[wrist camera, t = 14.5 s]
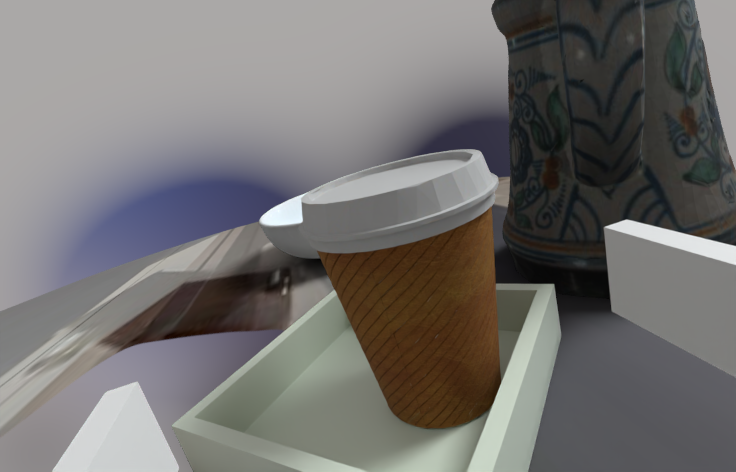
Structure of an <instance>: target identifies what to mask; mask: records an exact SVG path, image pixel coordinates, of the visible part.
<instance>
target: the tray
mask: <svg viewBox="0 0 736 472" xmlns="http://www.w3.org/2000/svg"><path fill="white" fill-rule="evenodd" d="M496 300H497V315H498V337H499V357H500V373H501V385H500V388H499V390H498V393H497V395H496V398H495V401H494V403H493V405H492V406H491V407H490V408H489V409H488V410H487V411H486V412H484V413H483V414H482V415H480V416H478V417H477V418H475V419H473V420H471V421H469V422H467V423H464V424H460V425H457V426H454V427H448V428H428V429H427V428H422V427H416V426H413V425H410V424H407V423H405V422H403V421H402V420H400V419H399V418H398V417H396V416H395V415H394V414H393V413H392V411H391V410H390V408H389V407H388V404H387V402H386V399H385V397H384V395H383V393H382V391H381V389H380V387H379V384H378V382H377V380H376V378H375V376H374V373H373V371H372V369H371V367H370V364H369V363H368V361H367V359H366V357H365V354H364V352H363V350H362V348H361V345H360V343H359V341H358V339H357V337H356V334H355V332H354V330H353V328H352V326H351V324H350V322H349V320H348V318H347V315H346V313H345V311H344V309H343V306H342V304H341V302H340V300H339V298H338V296H337V293H336V291H335V289H334V290H333V291H332V292H331V293H330V294H328V295H327V296H326V297H325V298H324V299H322V300H321V301H320V302H319V303H318V304H316V305H315V306H314V307H313V308H312V309H310V310H309V311H308V312H307V313H306V314H305V315H303V316H302V317H301V318H300V319H299V320H297V321H296V322H295V323H294V324H293V325H291V326H290V327H289V328H288V329H287V330H285V331H284V332H283V333H282V334H281V335H279V336H278V337H277V338H276V339H275V340H274V341H272V342H271V343H270V344H269V345H267V346H266V347H265V348H264V349H263V350H261V351H260V352H259V353H258V354H257V355H256V356H254V357H253V358H252V359H251V360H249V361H248V362H247V363H246V364H245V365H243V366H242V367H241V368H240V369H239V370H237V371H236V372H235V373H234V374H233V375H231V376H230V377H229V378H228V379H227V380H225V381H224V382H223V383H222V384H221V385H219V386H218V387H217V388H216V389H215V390H213V391H212V392H211V393H210V394H209V395H207V396H206V397H205V398H204V399H203V400H201V401H200V402H199V403H198V404H197V405H195V406H194V407H193V408H192V409H191V410H190V411H188V412H187V413H186V414H185V415H184V416H182V417H181V418H180V419H179V420H178V421H176V422H175V423H174V424H173V425H172V428H173V430H174V432H175V434H176V436H177V439H178V441H179V443H180V445H181V447H182V449H183V451H184V453H185V455H186V457H187V459H188V461H189V463H190V466H191V468H192V470H193V472H528V470H529V466H530V462H531V458H532V453H533V449H534V445H535V441H536V437H537V433H538V429H539V425H540V421H541V417H542V413H543V409H544V405H545V401H546V396H547V392H548V388H549V384H550V380H551V376H552V372H553V368H554V364H555V360H556V356H557V352H558V348H559V344H560V339H561V329H560V322H559V315H558V308H557V301H556V294H555V287H554V284H496Z"/></svg>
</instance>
